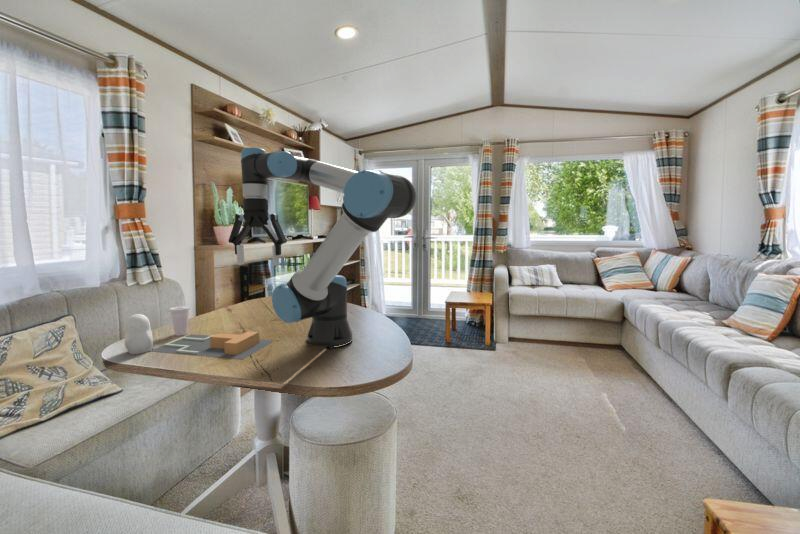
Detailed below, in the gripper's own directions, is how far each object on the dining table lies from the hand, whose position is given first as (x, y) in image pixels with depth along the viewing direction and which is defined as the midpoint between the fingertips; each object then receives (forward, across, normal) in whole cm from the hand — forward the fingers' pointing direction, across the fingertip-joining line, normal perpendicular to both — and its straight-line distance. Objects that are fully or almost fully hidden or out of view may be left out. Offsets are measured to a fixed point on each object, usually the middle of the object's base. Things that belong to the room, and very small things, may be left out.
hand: (258, 265), depth 125 cm
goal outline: (+25, +19, +9) cm, 32 cm away
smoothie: (+26, +33, -2) cm, 42 cm away
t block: (+25, +5, +9) cm, 27 cm away
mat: (+26, +11, +9) cm, 30 cm away
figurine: (+26, +32, +16) cm, 44 cm away
